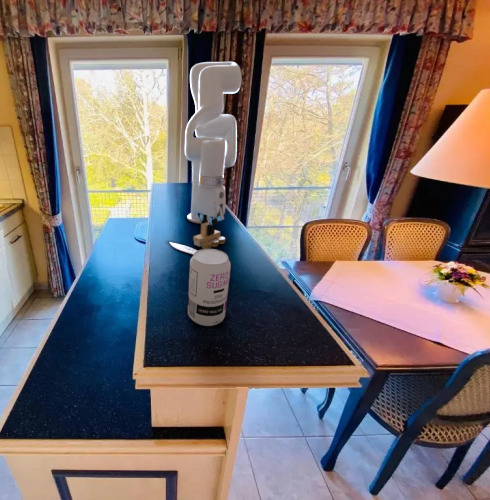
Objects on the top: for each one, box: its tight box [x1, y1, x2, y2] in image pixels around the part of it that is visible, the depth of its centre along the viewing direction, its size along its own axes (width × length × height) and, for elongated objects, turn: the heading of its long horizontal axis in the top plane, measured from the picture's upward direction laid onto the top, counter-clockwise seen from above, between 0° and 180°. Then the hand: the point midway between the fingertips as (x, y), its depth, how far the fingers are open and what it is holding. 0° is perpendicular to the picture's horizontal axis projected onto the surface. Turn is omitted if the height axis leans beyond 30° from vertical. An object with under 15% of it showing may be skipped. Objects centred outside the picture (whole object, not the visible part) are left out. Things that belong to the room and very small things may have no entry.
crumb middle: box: [209, 239, 219, 248], centre depth 97 cm, size 3×3×2 cm
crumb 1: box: [201, 242, 212, 249], centre depth 95 cm, size 3×3×2 cm
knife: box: [169, 241, 231, 279], centre depth 88 cm, size 30×2×8 cm
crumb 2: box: [216, 235, 226, 245], centre depth 99 cm, size 3×3×2 cm
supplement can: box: [187, 248, 232, 327], centre depth 60 cm, size 8×8×15 cm
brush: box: [192, 222, 221, 248], centre depth 98 cm, size 11×3×7 cm, turn 128°
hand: (207, 233), depth 98 cm, fingers closed on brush, 2 cm apart
